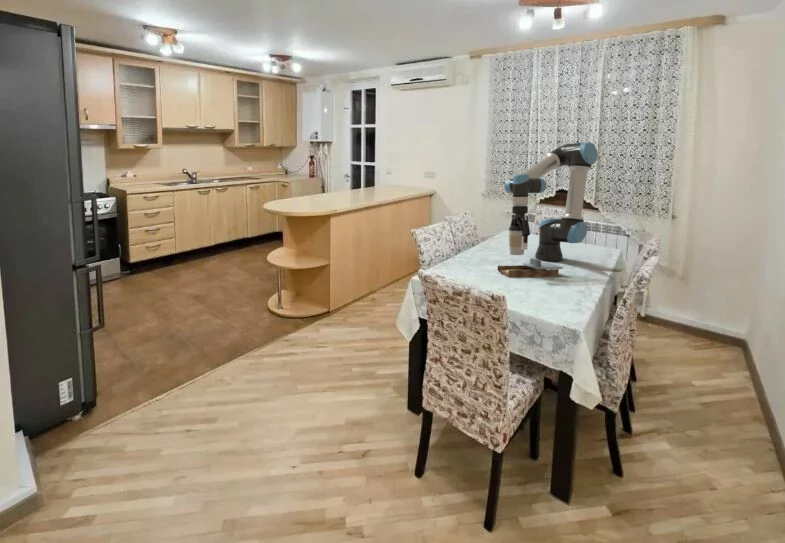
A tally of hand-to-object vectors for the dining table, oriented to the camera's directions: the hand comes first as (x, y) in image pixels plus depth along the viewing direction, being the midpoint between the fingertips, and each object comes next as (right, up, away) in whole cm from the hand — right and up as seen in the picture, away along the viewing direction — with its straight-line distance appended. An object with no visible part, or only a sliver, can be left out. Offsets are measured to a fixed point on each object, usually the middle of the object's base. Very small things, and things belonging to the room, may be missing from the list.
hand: (518, 247), depth 243 cm
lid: (+13, -10, +3) cm, 17 cm away
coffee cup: (0, -3, +3) cm, 4 cm away
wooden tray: (+5, -14, +3) cm, 15 cm away
